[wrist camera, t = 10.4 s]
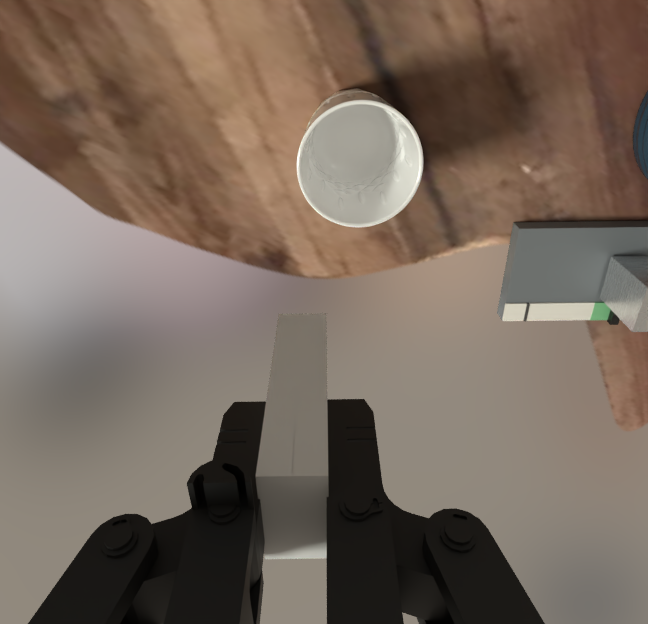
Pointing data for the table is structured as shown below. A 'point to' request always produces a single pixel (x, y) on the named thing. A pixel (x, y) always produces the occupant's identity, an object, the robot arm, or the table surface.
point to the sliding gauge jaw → (627, 292)
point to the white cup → (359, 159)
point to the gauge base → (564, 268)
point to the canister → (641, 137)
